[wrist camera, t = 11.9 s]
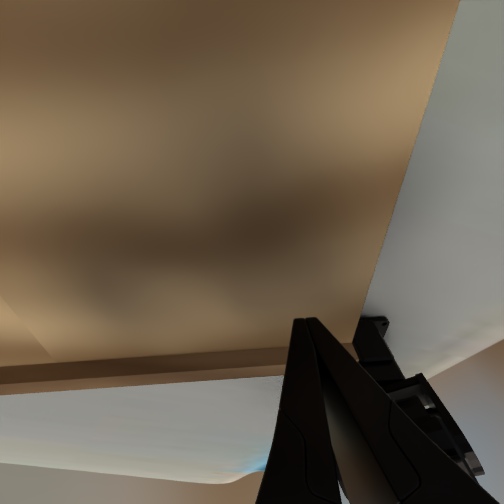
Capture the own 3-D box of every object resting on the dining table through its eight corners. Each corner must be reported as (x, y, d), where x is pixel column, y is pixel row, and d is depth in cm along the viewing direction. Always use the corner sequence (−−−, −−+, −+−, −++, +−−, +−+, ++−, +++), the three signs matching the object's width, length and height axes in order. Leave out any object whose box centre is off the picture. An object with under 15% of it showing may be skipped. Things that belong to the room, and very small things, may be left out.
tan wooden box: (312, 267, 21) (355, 370, 14) (44, 283, 20) (-64, 399, 13) (348, 1, 12) (536, -125, 4) (-135, 16, 11) (-835, -99, 4)
